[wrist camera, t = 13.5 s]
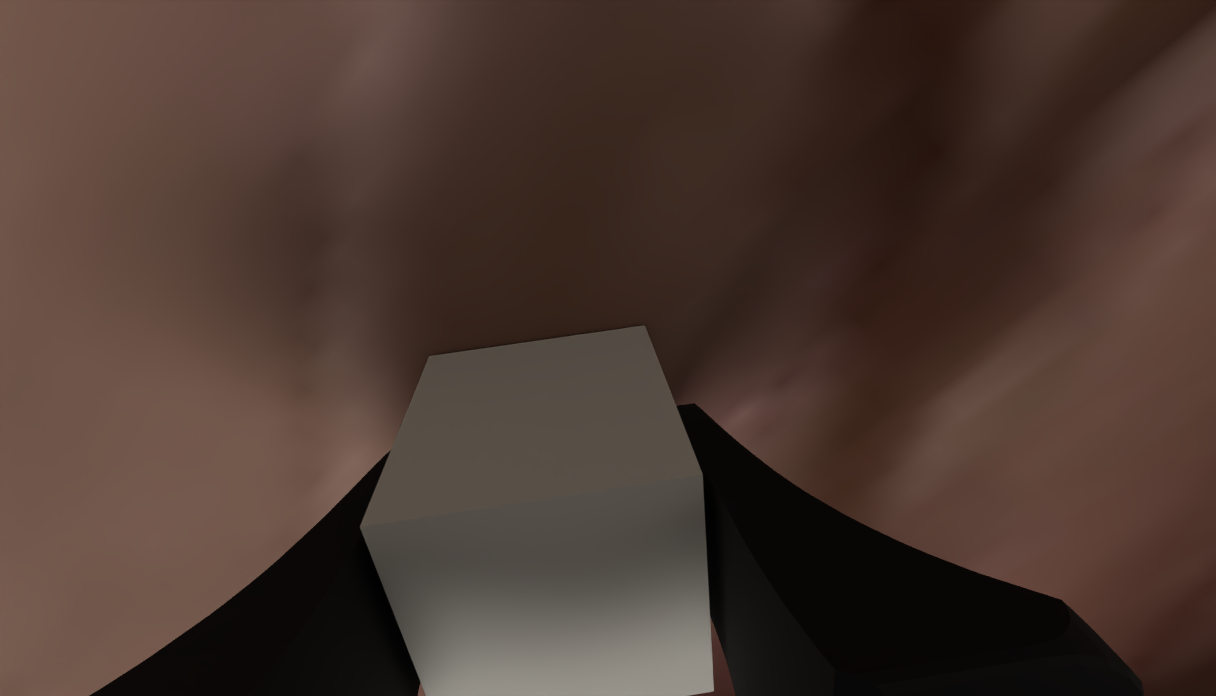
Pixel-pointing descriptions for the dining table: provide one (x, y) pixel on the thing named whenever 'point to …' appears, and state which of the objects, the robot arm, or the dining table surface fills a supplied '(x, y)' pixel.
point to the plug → (546, 524)
